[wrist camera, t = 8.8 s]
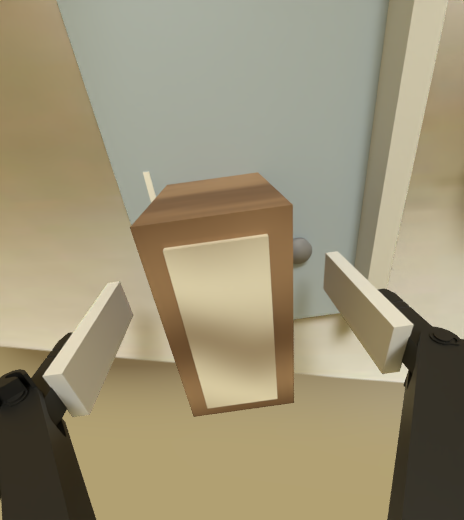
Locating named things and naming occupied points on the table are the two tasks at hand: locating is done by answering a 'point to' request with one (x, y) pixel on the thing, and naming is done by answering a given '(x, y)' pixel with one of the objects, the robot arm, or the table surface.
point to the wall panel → (268, 110)
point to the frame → (224, 288)
